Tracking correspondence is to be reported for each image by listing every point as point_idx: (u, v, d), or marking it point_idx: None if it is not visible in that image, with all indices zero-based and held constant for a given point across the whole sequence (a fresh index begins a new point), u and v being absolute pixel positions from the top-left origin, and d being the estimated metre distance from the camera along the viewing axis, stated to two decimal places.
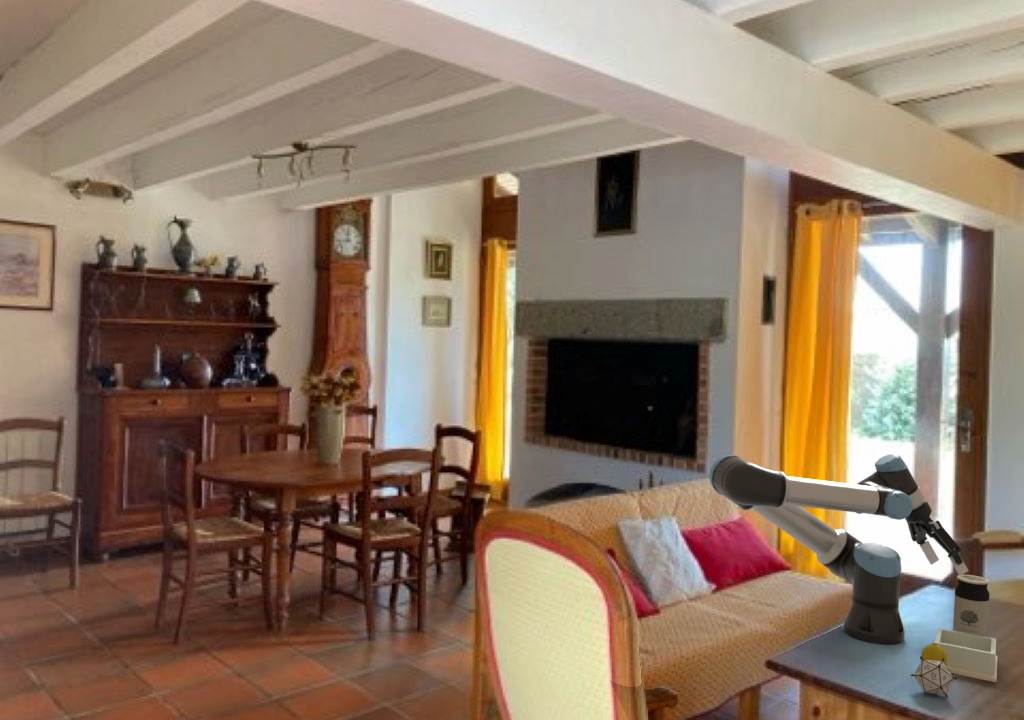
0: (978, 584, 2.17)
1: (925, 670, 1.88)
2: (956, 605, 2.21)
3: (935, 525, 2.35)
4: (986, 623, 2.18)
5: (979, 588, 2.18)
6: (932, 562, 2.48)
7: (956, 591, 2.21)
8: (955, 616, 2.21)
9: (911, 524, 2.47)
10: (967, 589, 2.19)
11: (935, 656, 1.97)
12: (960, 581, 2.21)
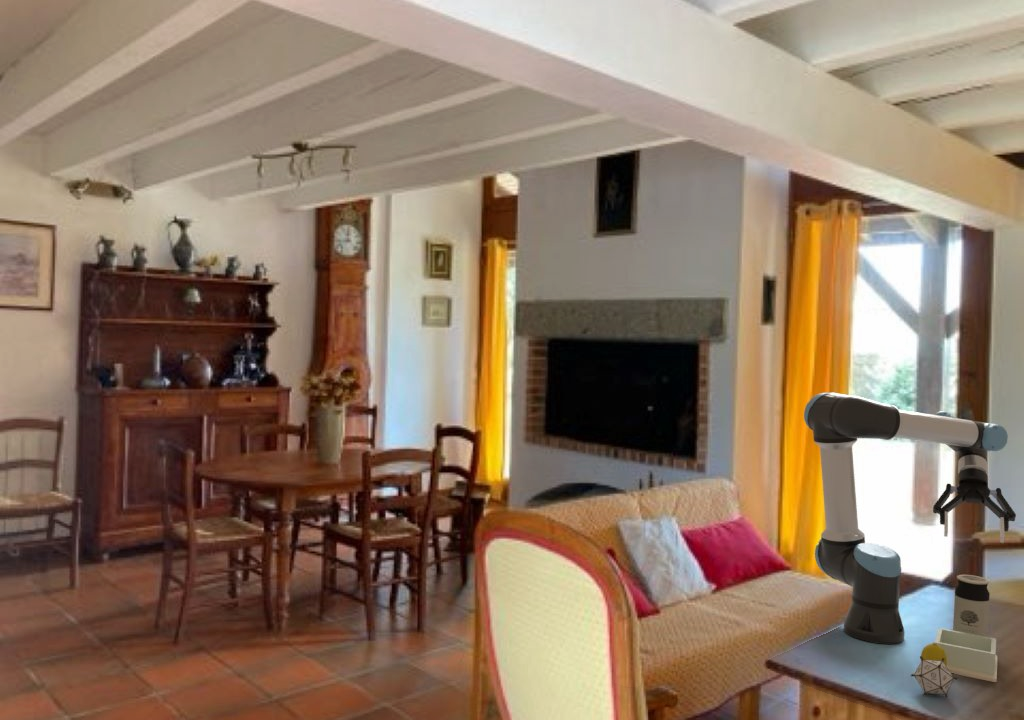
0: (978, 584, 2.17)
1: (925, 670, 1.88)
2: (956, 605, 2.21)
3: (1000, 491, 2.37)
4: (986, 623, 2.18)
5: (979, 588, 2.18)
6: (947, 530, 2.33)
7: (956, 591, 2.21)
8: (955, 616, 2.21)
9: (949, 492, 2.41)
10: (967, 589, 2.19)
11: (935, 656, 1.97)
12: (960, 581, 2.21)
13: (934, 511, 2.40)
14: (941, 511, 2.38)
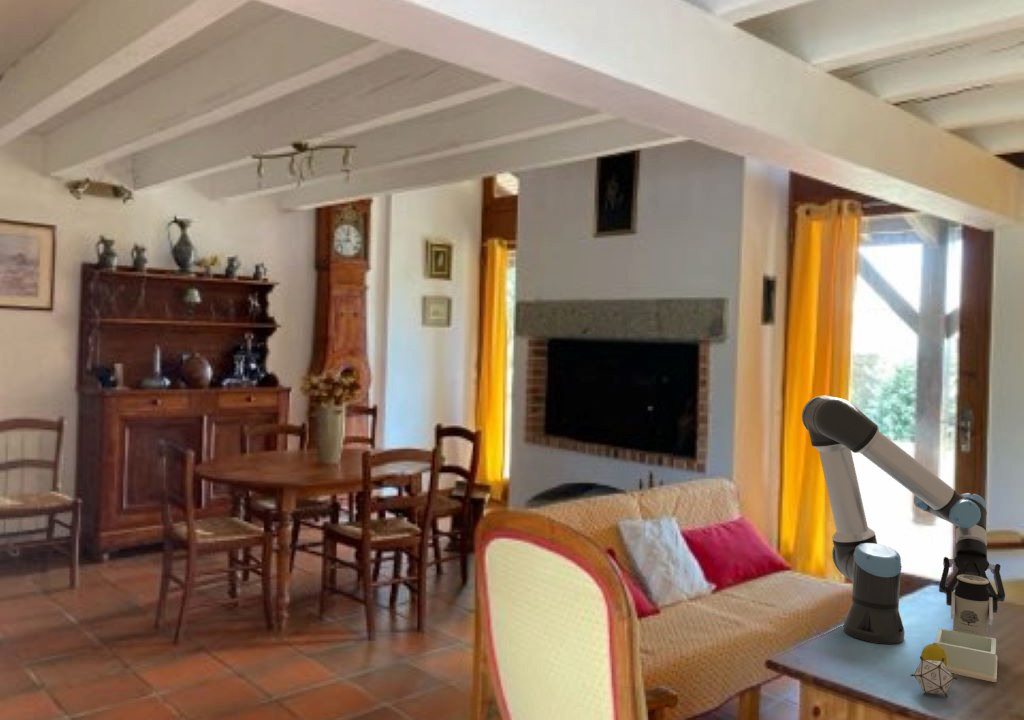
0: (978, 584, 2.17)
1: (925, 670, 1.88)
2: (956, 605, 2.21)
3: None
4: (986, 623, 2.18)
5: (979, 588, 2.18)
6: (954, 613, 2.20)
7: (956, 591, 2.21)
8: (955, 616, 2.21)
9: (949, 566, 2.29)
10: (967, 589, 2.19)
11: (935, 656, 1.97)
12: (960, 581, 2.21)
13: (940, 590, 2.26)
14: (948, 591, 2.24)
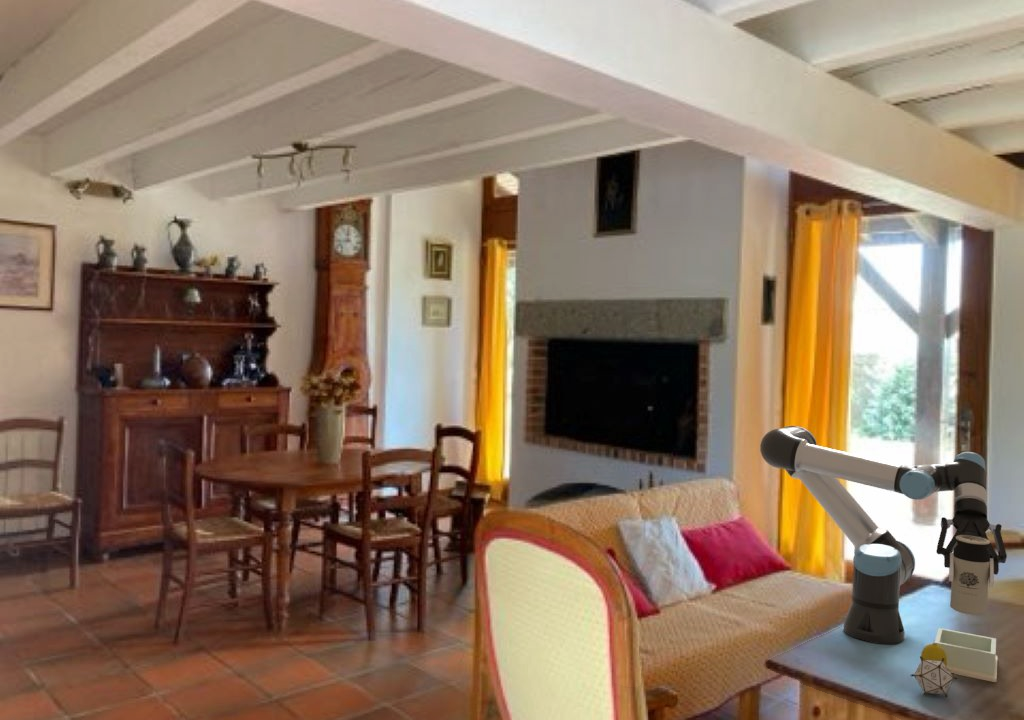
0: (979, 544, 2.05)
1: (925, 670, 1.88)
2: (955, 567, 2.08)
3: None
4: (986, 585, 2.05)
5: (979, 548, 2.05)
6: None
7: (955, 552, 2.09)
8: (954, 579, 2.09)
9: (947, 527, 2.16)
10: (966, 550, 2.06)
11: (935, 656, 1.97)
12: (959, 541, 2.08)
13: (938, 552, 2.13)
14: (946, 552, 2.11)
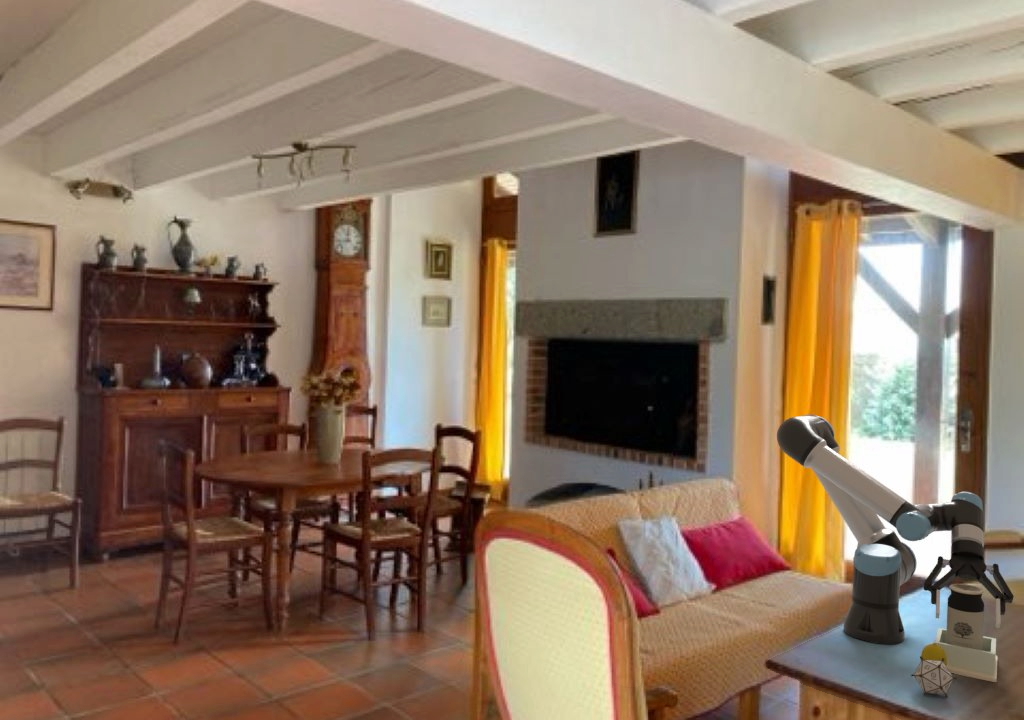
0: (972, 594, 2.05)
1: (925, 670, 1.88)
2: (949, 616, 2.09)
3: None
4: (981, 635, 2.06)
5: (973, 598, 2.05)
6: (939, 612, 2.09)
7: (949, 602, 2.09)
8: (948, 628, 2.09)
9: (941, 566, 2.17)
10: (960, 600, 2.06)
11: (935, 656, 1.97)
12: (953, 591, 2.08)
13: (925, 588, 2.15)
14: (932, 589, 2.13)
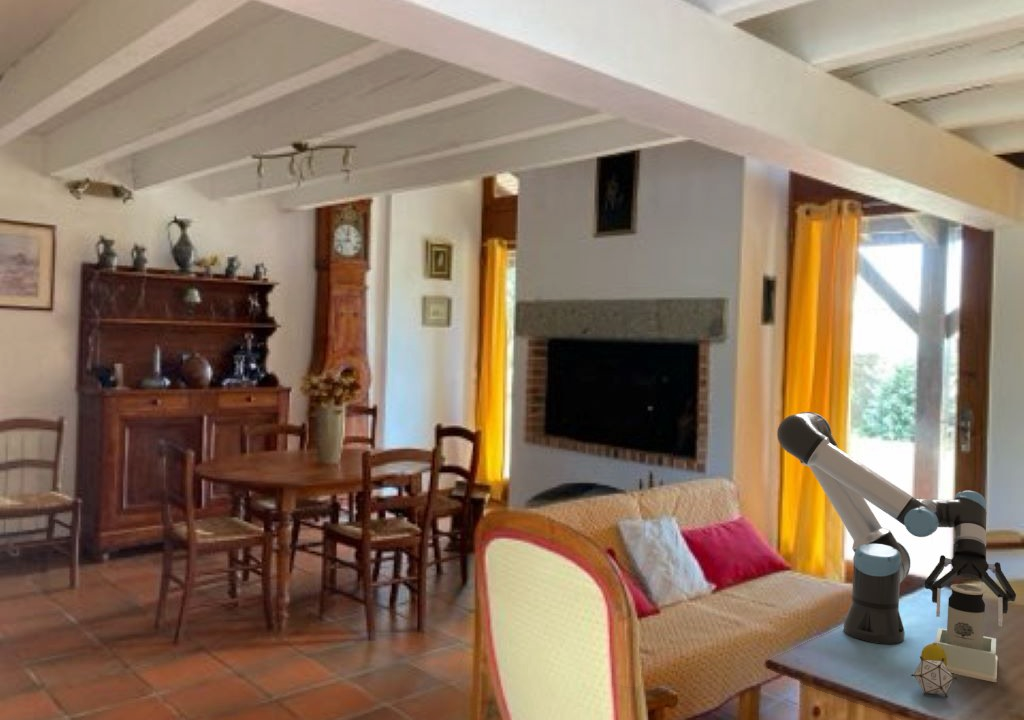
0: (973, 594, 2.05)
1: (925, 670, 1.88)
2: (950, 616, 2.09)
3: None
4: (981, 636, 2.06)
5: (974, 599, 2.05)
6: (939, 611, 2.11)
7: (950, 602, 2.09)
8: (949, 628, 2.09)
9: (943, 565, 2.19)
10: (961, 600, 2.06)
11: (935, 656, 1.97)
12: (954, 591, 2.08)
13: (926, 587, 2.17)
14: (933, 587, 2.15)
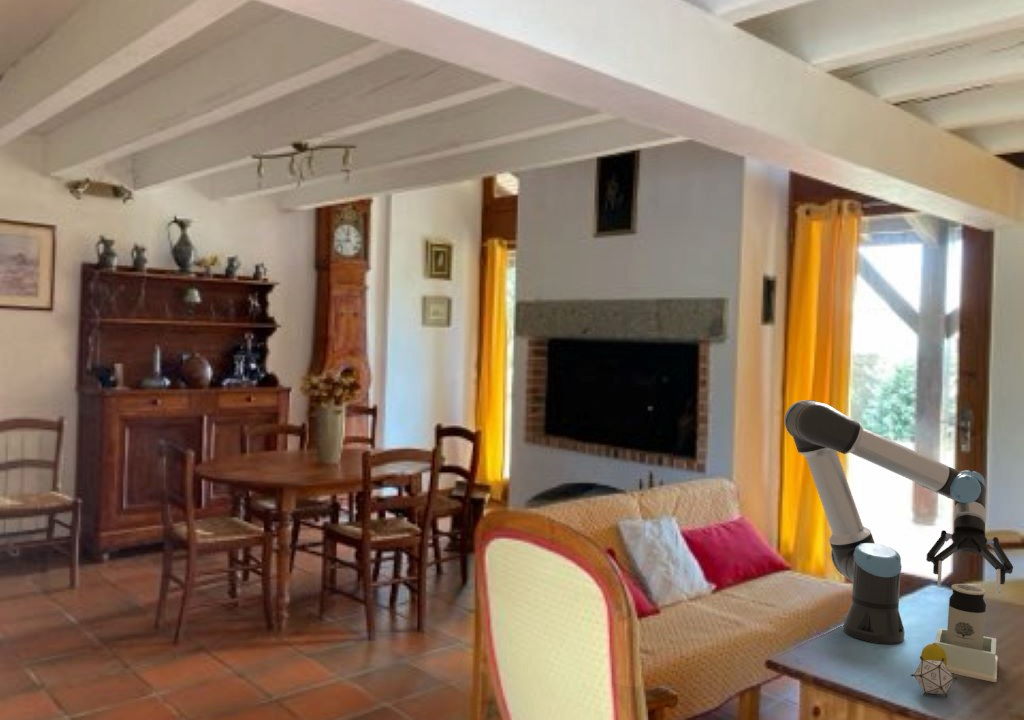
0: (974, 594, 2.05)
1: (925, 670, 1.88)
2: (950, 616, 2.09)
3: None
4: (982, 636, 2.06)
5: (975, 599, 2.05)
6: (940, 581, 2.22)
7: (950, 601, 2.09)
8: (949, 628, 2.09)
9: (944, 539, 2.30)
10: (962, 600, 2.06)
11: (935, 656, 1.97)
12: (955, 591, 2.08)
13: (927, 559, 2.29)
14: (935, 560, 2.27)
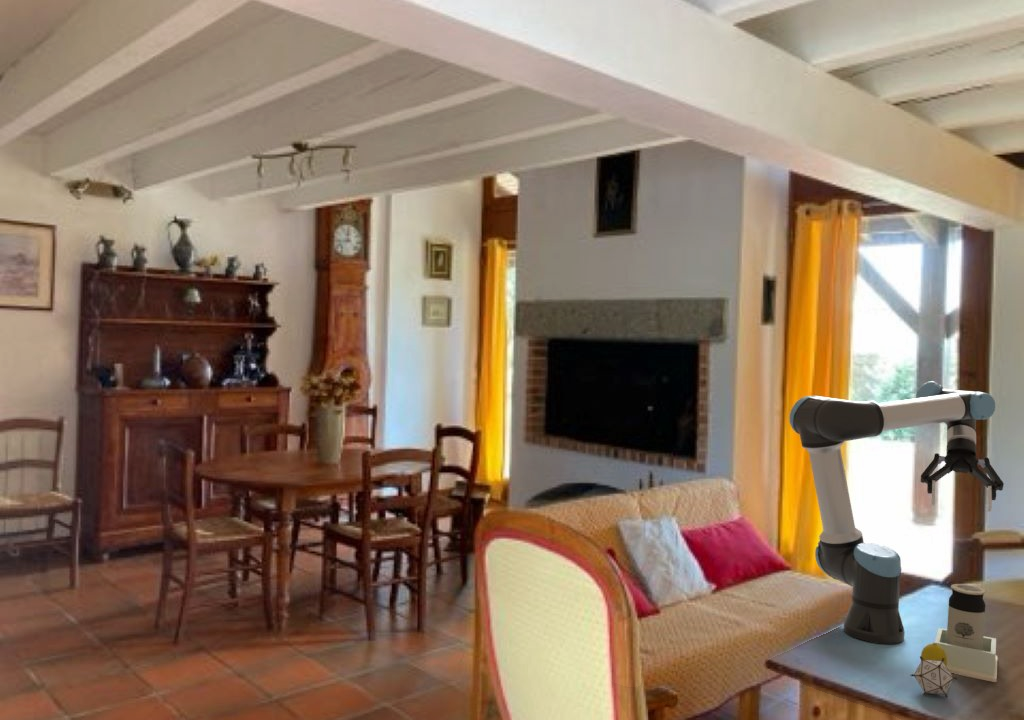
0: (974, 594, 2.05)
1: (925, 670, 1.88)
2: (950, 616, 2.09)
3: None
4: (982, 636, 2.06)
5: (974, 599, 2.05)
6: (934, 499, 2.31)
7: (950, 602, 2.09)
8: (949, 628, 2.09)
9: (937, 461, 2.39)
10: (961, 600, 2.06)
11: (935, 656, 1.97)
12: (954, 591, 2.08)
13: (922, 480, 2.38)
14: (929, 480, 2.36)
